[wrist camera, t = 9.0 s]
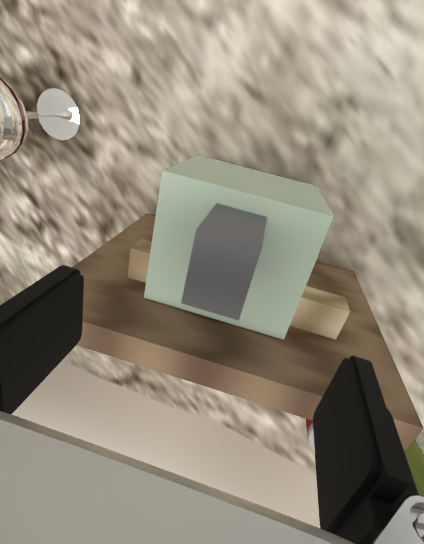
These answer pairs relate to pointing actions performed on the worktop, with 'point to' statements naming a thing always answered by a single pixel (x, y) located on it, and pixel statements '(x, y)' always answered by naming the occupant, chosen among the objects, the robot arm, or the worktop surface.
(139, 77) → the worktop surface
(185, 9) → the worktop surface
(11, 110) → the wineglass
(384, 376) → the wall board
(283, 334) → the mint green box
